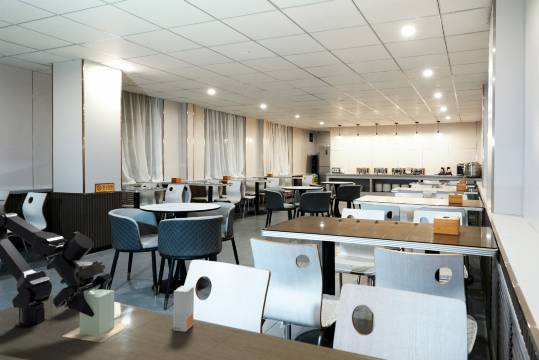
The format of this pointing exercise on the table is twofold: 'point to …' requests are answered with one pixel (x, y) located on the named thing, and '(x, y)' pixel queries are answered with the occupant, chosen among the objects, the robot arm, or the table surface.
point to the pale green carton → (98, 312)
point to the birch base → (101, 338)
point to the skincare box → (183, 308)
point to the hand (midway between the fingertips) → (101, 311)
